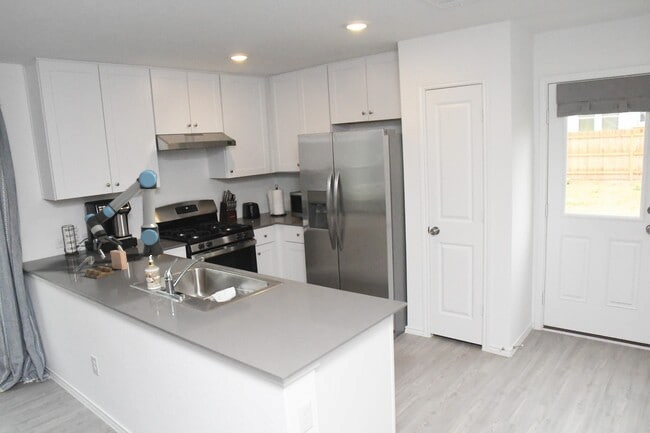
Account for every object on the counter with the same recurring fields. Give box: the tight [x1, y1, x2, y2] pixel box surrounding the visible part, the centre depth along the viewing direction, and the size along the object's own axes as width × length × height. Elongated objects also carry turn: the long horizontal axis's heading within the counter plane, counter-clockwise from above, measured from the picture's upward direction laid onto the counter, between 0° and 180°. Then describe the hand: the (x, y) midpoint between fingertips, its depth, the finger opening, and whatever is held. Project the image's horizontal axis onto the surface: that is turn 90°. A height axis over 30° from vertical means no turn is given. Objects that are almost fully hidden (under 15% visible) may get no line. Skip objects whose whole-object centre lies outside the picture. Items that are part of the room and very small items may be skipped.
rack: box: [84, 265, 116, 279], centre depth 303 cm, size 15×12×4 cm
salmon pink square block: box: [109, 249, 129, 271], centre depth 316 cm, size 12×4×12 cm, turn 55°
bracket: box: [72, 255, 96, 274], centre depth 324 cm, size 3×21×10 cm, turn 175°
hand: (113, 255), depth 317 cm, fingers open, 13 cm apart
